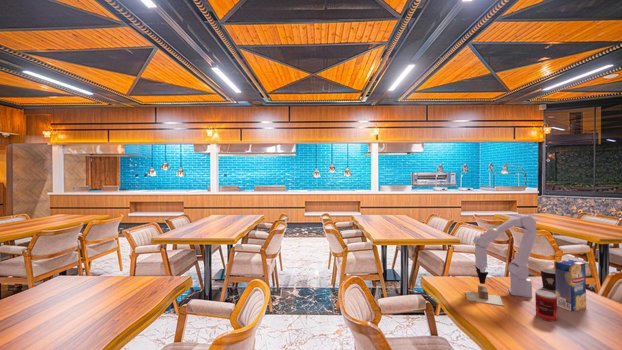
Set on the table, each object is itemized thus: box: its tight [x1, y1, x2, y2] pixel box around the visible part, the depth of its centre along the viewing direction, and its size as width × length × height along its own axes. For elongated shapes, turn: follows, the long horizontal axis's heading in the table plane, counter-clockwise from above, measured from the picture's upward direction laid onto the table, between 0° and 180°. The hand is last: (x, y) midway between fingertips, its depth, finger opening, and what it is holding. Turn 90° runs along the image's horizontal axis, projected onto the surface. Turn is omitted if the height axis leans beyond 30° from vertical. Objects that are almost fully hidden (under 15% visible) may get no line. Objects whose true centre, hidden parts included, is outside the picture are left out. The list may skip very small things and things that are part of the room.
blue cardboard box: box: [554, 258, 587, 312], centre depth 140 cm, size 7×11×22 cm, turn 109°
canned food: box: [534, 289, 558, 322], centre depth 130 cm, size 8×8×11 cm
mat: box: [465, 290, 504, 307], centre depth 151 cm, size 16×12×1 cm
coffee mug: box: [539, 268, 556, 292], centre depth 161 cm, size 12×9×10 cm
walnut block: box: [477, 284, 489, 300], centre depth 153 cm, size 4×4×9 cm
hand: (481, 281), depth 160 cm, fingers open, 7 cm apart
